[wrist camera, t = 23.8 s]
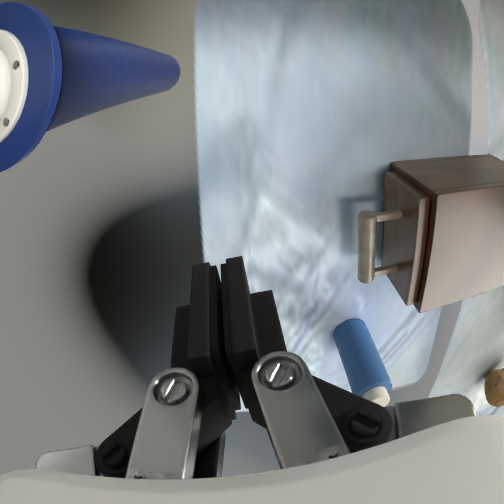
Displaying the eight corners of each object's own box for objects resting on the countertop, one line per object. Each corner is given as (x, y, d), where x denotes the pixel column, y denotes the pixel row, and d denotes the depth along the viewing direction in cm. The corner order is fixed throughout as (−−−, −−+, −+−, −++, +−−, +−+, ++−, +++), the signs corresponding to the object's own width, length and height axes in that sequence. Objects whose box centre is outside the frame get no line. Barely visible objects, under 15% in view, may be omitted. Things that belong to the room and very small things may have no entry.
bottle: (333, 345, 42) (356, 418, 32) (333, 322, 39) (360, 399, 29) (364, 338, 42) (392, 408, 32) (366, 315, 39) (399, 388, 29)
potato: (501, 353, 51) (521, 385, 43) (508, 361, 54) (527, 390, 46) (472, 379, 55) (490, 412, 46) (482, 385, 58) (498, 415, 49)
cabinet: (387, 265, 35) (419, 313, 28) (390, 162, 29) (437, 194, 21) (477, 244, 35) (514, 281, 28) (490, 154, 28) (539, 181, 21)
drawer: (346, 275, 34) (367, 316, 29) (343, 177, 28) (371, 206, 23) (470, 247, 34) (500, 277, 28) (481, 162, 28) (521, 184, 22)
